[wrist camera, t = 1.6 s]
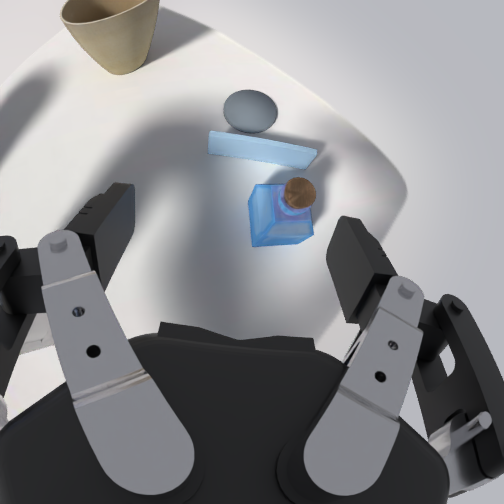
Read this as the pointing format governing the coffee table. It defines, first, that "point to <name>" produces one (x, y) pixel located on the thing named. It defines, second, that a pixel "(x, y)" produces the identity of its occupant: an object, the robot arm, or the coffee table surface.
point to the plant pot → (112, 30)
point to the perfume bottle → (281, 213)
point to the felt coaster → (250, 111)
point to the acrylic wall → (260, 149)
